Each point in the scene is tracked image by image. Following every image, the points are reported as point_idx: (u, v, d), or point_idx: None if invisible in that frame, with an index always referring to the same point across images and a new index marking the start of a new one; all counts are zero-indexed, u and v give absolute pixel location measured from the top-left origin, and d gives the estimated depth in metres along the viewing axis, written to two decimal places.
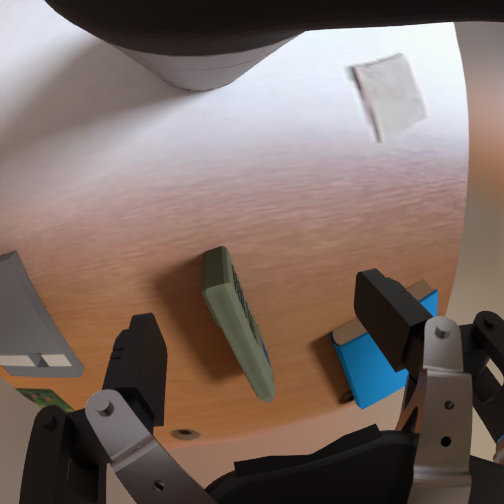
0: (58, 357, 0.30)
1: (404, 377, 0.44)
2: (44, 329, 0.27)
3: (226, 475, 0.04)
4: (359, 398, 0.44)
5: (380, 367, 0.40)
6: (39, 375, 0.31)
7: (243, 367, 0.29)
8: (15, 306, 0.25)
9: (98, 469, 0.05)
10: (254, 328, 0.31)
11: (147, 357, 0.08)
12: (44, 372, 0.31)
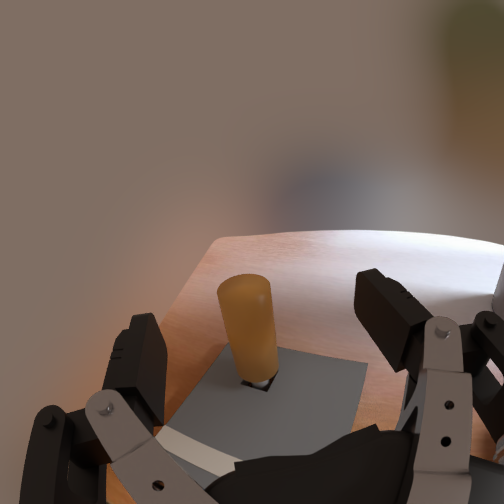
0: None
1: None
2: None
3: (226, 475, 0.04)
4: None
5: None
6: None
7: None
8: (326, 403, 0.24)
9: (98, 469, 0.05)
10: None
11: (147, 356, 0.08)
12: None
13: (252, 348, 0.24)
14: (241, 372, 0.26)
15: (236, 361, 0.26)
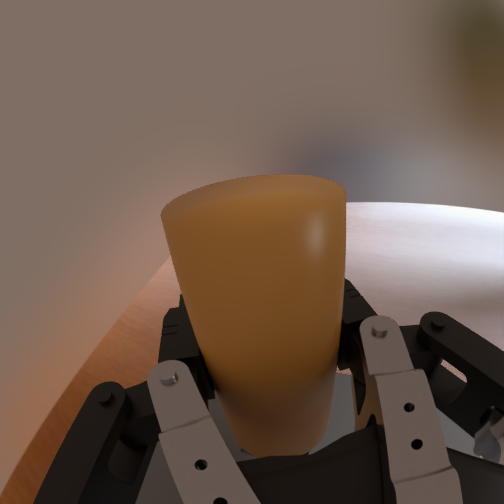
0: None
1: None
2: None
3: None
4: None
5: None
6: None
7: None
8: None
9: (145, 452, 0.06)
10: None
11: None
12: None
13: (278, 398, 0.07)
14: (243, 442, 0.09)
15: (229, 420, 0.09)
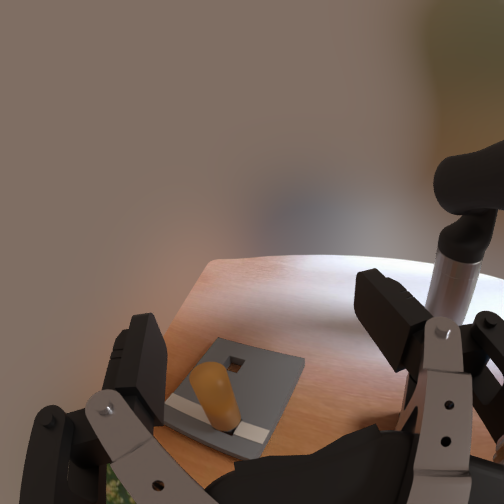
0: (259, 430, 0.33)
1: None
2: (279, 405, 0.37)
3: (226, 475, 0.04)
4: None
5: None
6: (199, 435, 0.33)
7: None
8: (273, 381, 0.41)
9: (98, 469, 0.05)
10: None
11: (147, 356, 0.08)
12: (212, 436, 0.33)
13: (216, 413, 0.30)
14: (212, 424, 0.32)
15: (207, 417, 0.32)
